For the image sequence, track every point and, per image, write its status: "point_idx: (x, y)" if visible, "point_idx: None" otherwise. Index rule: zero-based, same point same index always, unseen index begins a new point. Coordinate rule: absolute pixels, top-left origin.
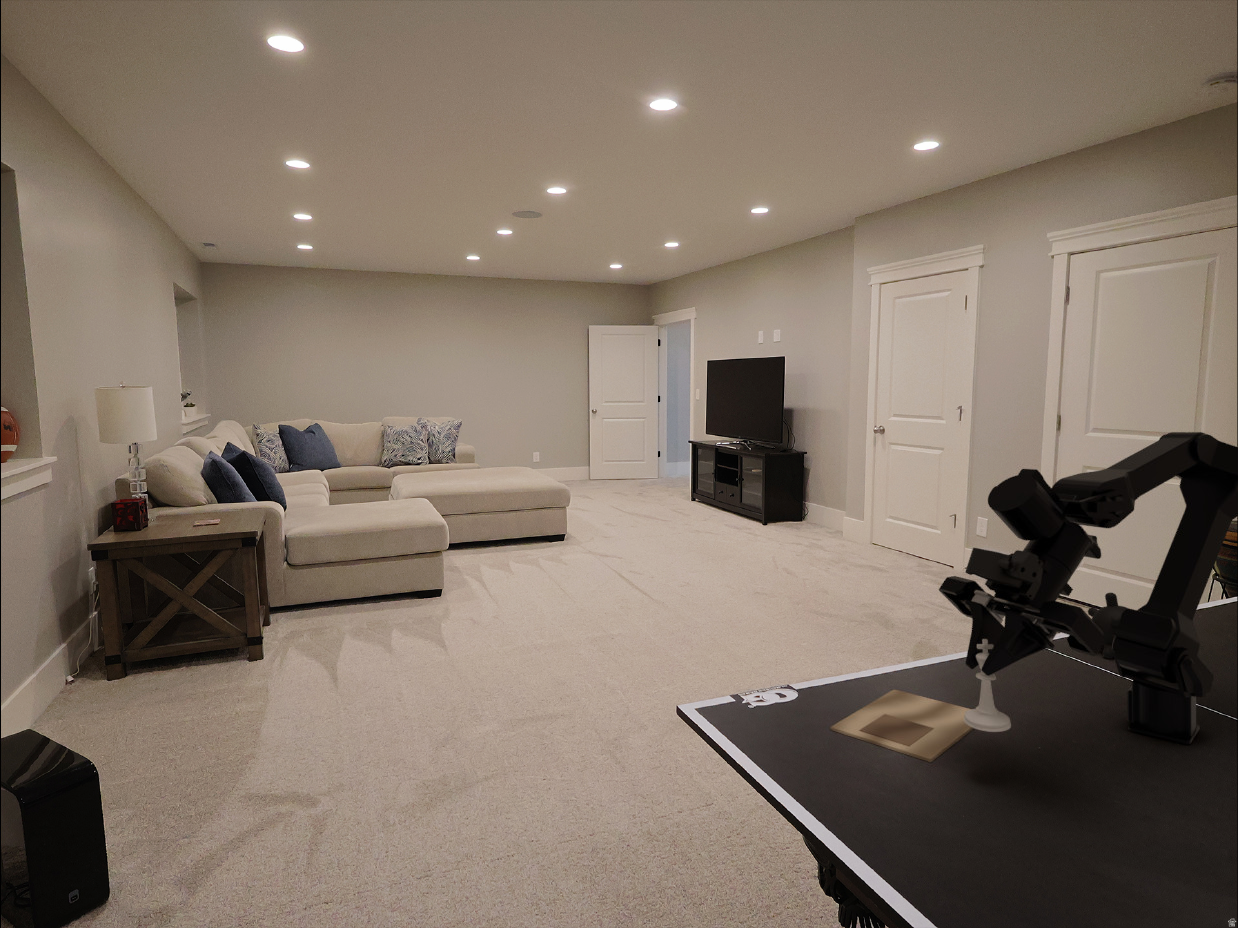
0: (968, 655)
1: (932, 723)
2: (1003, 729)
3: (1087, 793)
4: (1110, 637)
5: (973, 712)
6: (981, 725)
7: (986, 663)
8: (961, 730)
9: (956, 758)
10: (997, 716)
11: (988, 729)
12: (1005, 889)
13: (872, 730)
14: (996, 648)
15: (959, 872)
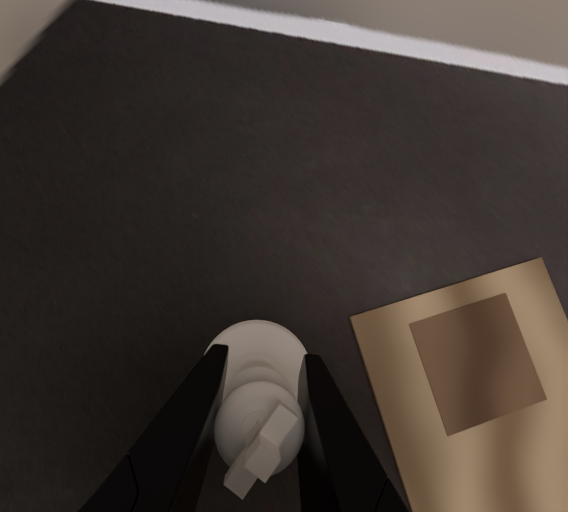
0: (324, 379)
1: (467, 455)
2: None
3: None
4: None
5: (282, 357)
6: (234, 326)
7: (210, 366)
8: (414, 484)
9: (336, 373)
10: (225, 386)
11: (220, 334)
12: (44, 112)
13: (492, 313)
14: (170, 440)
15: (104, 95)
